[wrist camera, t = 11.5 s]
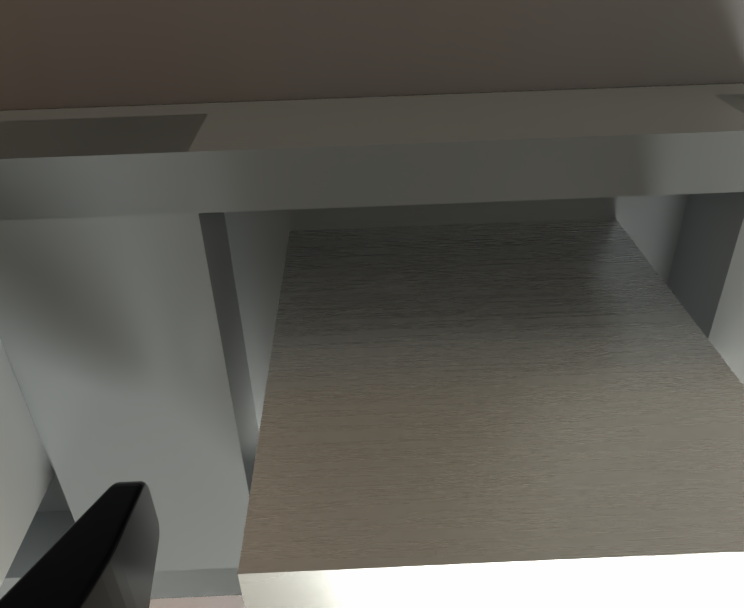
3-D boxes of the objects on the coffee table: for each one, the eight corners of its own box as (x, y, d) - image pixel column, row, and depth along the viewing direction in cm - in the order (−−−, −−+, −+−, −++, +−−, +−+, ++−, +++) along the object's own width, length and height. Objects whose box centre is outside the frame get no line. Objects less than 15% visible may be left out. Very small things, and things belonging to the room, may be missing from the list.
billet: (615, 218, 10) (867, 546, 5) (572, 454, 13) (713, 818, 8) (289, 231, 10) (238, 575, 5) (313, 465, 13) (293, 839, 8)
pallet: (751, 82, 10) (1247, 349, 4) (642, 492, 15) (819, 868, 9) (-549, 131, 10) (-1702, 475, 4) (-240, 531, 14) (-600, 942, 9)
